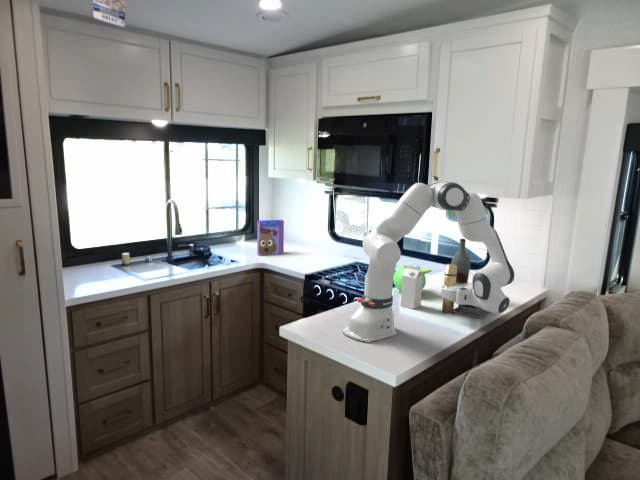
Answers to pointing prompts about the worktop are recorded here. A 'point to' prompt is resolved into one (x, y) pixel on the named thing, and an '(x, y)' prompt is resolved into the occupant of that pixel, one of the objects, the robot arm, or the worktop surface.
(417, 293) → the milk carton
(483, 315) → the collar stand
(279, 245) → the cereal box
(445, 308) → the brass tube
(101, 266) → the worktop surface
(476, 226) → the robot arm
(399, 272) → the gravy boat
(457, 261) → the bottle
